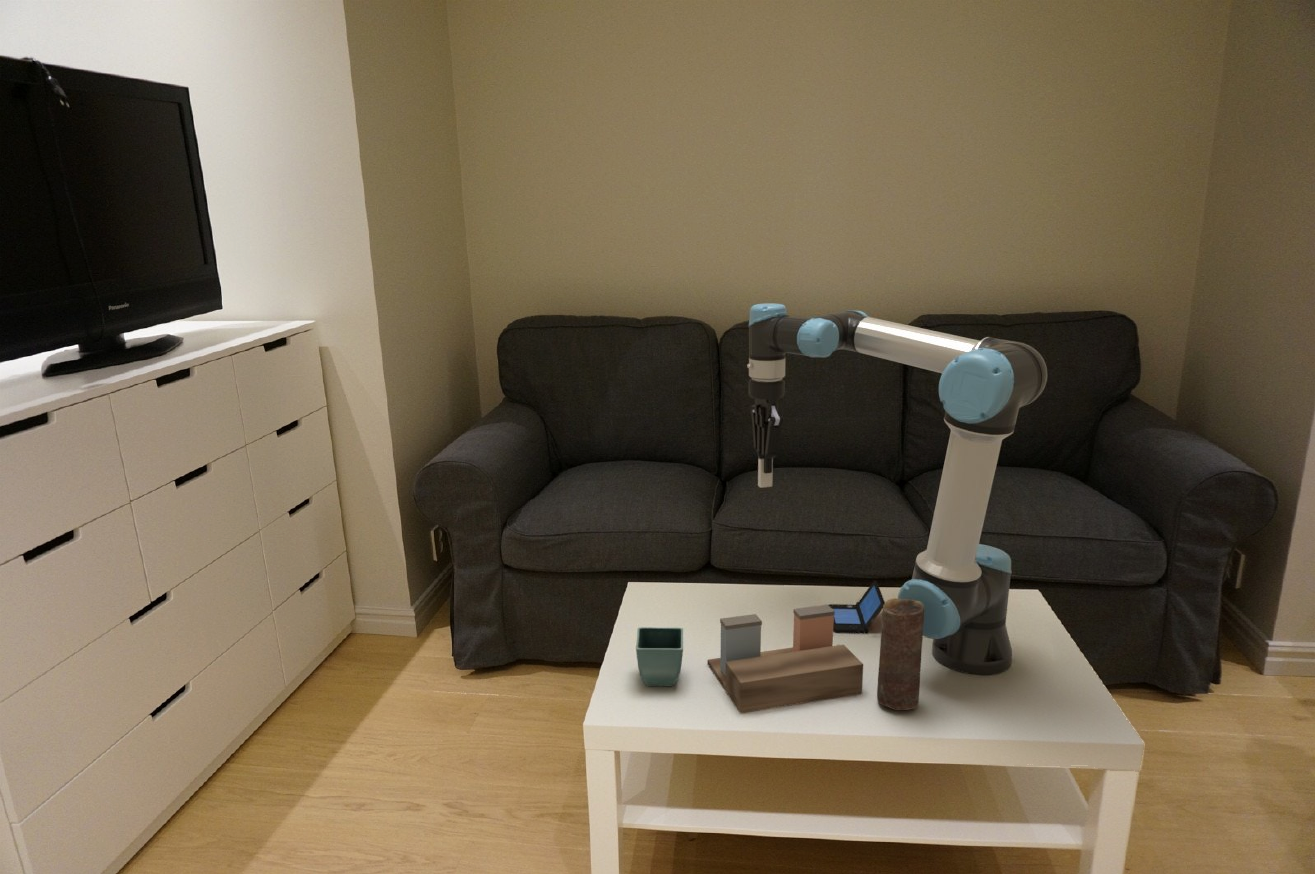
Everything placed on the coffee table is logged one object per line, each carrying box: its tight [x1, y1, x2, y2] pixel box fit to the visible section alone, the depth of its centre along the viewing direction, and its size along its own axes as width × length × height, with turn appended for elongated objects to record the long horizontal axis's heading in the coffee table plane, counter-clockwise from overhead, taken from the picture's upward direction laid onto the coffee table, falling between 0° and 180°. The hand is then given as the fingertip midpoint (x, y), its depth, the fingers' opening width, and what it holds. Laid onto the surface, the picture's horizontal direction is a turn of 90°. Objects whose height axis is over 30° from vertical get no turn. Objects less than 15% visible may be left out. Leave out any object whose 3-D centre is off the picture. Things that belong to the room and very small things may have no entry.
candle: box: [876, 597, 925, 711], centre depth 164 cm, size 8×7×20 cm
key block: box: [707, 644, 864, 714], centre depth 175 cm, size 18×24×6 cm
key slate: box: [719, 613, 763, 675], centre depth 175 cm, size 3×7×11 cm, turn 105°
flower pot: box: [635, 626, 684, 687], centre depth 175 cm, size 9×9×9 cm
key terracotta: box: [792, 604, 835, 652], centre depth 179 cm, size 3×7×11 cm, turn 105°
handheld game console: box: [827, 580, 886, 635], centre depth 199 cm, size 12×11×7 cm
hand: (765, 486), depth 198 cm, fingers closed
